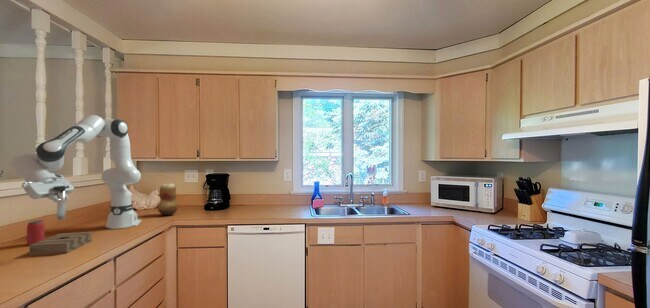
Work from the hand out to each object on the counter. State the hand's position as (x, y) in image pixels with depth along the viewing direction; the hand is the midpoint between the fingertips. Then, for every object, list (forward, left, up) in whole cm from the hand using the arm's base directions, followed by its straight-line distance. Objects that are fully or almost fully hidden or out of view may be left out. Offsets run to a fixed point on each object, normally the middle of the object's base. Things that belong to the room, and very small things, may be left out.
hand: (62, 200), depth 136 cm
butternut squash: (-81, +22, -26) cm, 88 cm away
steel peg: (0, -1, -9) cm, 9 cm away
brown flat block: (-8, -5, -25) cm, 27 cm away
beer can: (-19, -24, -26) cm, 40 cm away
